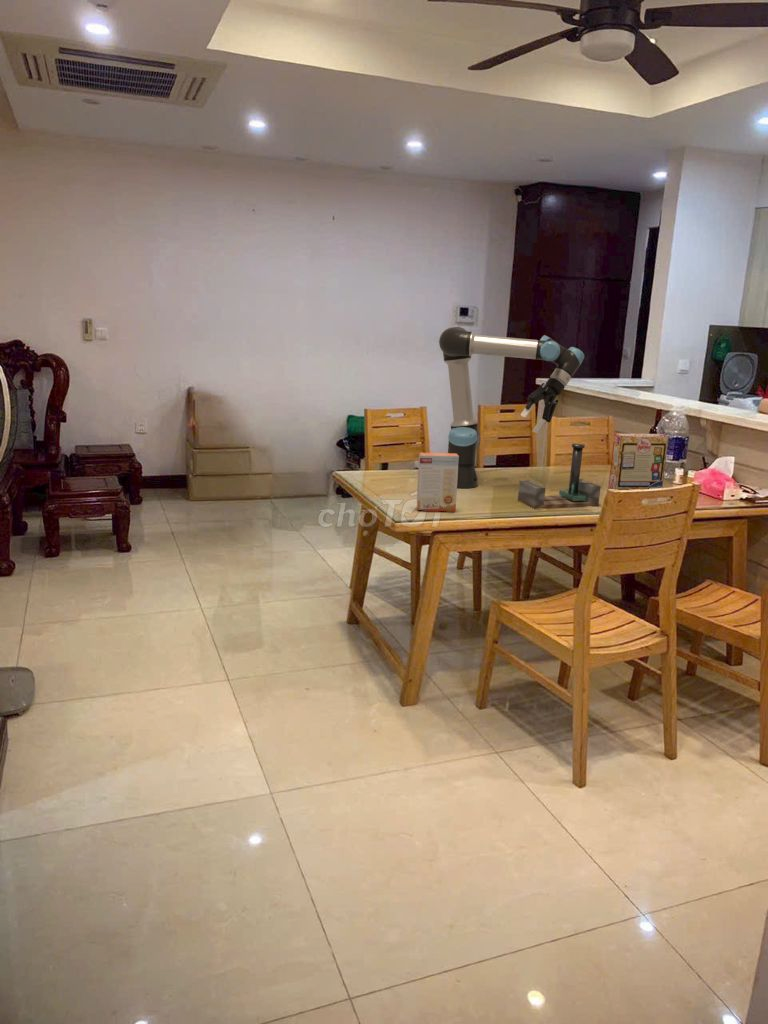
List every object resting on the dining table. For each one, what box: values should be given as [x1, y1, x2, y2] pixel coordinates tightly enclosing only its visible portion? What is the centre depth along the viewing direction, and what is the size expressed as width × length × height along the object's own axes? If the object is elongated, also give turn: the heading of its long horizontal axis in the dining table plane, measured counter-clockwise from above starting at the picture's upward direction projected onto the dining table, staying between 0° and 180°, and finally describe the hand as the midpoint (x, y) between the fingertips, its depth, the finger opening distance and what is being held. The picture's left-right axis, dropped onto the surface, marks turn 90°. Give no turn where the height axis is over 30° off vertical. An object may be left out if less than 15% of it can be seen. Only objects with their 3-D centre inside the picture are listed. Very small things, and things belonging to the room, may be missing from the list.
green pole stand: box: [558, 443, 587, 501], centre depth 294 cm, size 6×10×21 cm, turn 18°
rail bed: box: [517, 478, 601, 510], centre depth 294 cm, size 28×13×8 cm, turn 108°
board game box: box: [607, 433, 670, 490], centre depth 301 cm, size 20×6×27 cm, turn 98°
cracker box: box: [416, 452, 459, 513], centre depth 275 cm, size 14×6×21 cm, turn 92°
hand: (529, 424), depth 310 cm, fingers open, 13 cm apart
